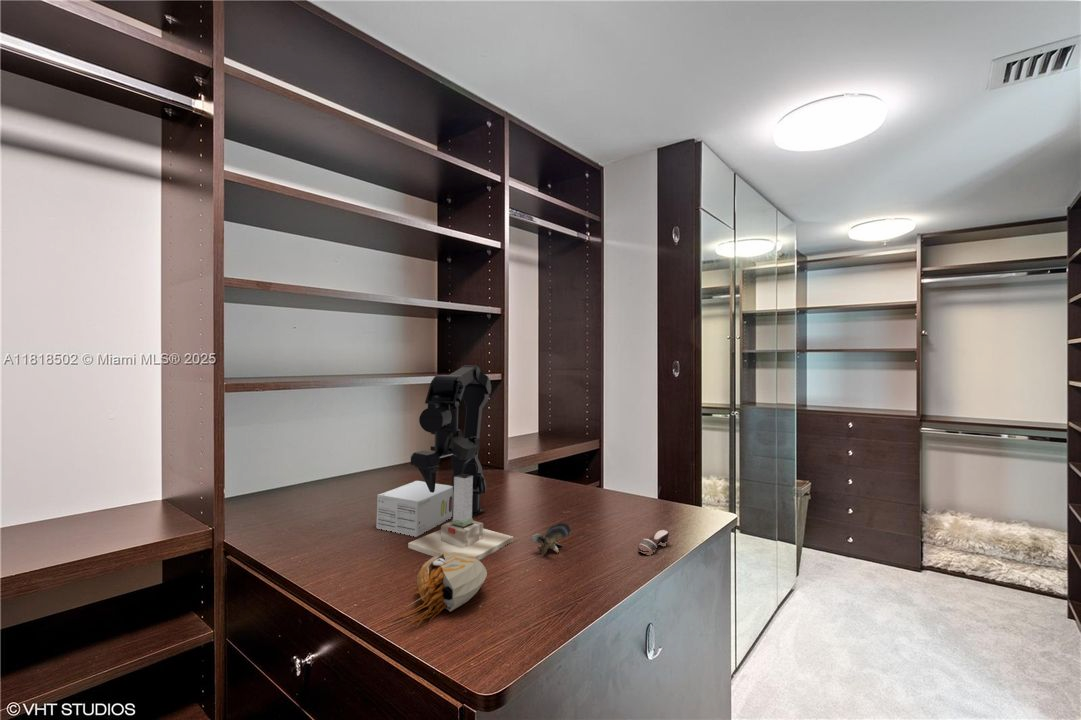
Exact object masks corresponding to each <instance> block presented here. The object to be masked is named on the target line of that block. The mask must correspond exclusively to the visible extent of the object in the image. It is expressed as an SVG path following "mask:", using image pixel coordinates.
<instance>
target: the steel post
mask: <svg viewBox="0 0 1081 720" xmlns="http://www.w3.org/2000/svg"><path fill="white" fill-rule="evenodd" d="M472 494H473V476H471V475H466V474H461V475H457V476H454V493H453V509H452V518H451V521H452V524H454V525H457V526H461V527H464V526H467V525H469V524H471V523H473V521H474V518H473V516H472Z"/></svg>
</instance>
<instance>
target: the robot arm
mask: <svg viewBox="0 0 1081 720" xmlns="http://www.w3.org/2000/svg"><path fill="white" fill-rule="evenodd" d="M491 393H492V384H491V380H490V378H489V376H488V375H487V374H485V373H484V372H482V371H481V369H480V367H479V366H477V365H467V364H466V365H465V364H464V365H462V366H460V368H458V369H457V370H455V371H453V372H452V373H450V374H438V375H435V376H434V377H433V379H432V380H431V381H430V385H429V387H428V391H427V395H426V398H425V401H424V404H426V405H427V408H426V409H424V410H423V411H422V412H421V413H420V416H419V418H418V421H419V422H418V423H419V425H420V427H421V429H423V431H425V432H427V433H430V434H431V435H434V438H433V439H434V441H433V442H434V443H433V445H431V446H430V451H429V450H420V451H416V452H413V453H412V454H411V455H410V465H411V466H414V468H417V469H418V471H419V473H420V474H421V476H422V478H423V481H424V482H426V484H427V487H428V489H429V491H430V492H432V493H433V492H434V491H435V483H436V480H437V471H438V470H439V469H440V468H441V465H439V464H440V462H441V460H442V459H445V458H449V457H450V462H451V467H452V468H451V469H452V475H451V486H453V494H454V476H457V475H461V474H466V475H471V476H473V494H472V517H475V516H477V515H479V514H482V513H483V512H485V509H483V508H481V496H482V495H483V494H486V493H487V481H486V479H485V477H484V473H483V467H482V464H481V462H480V460H479V451H480V446H481V443H480V442H481V441H480V436H481V435H480V434H481V428H482V427H481V424H482V417H483V416H482V415H483V408H485V407H486V404H487V403H488V401H489V400H490V395H491ZM462 400H463V402H464V404H465V406H466V411H465V422H464V431H462V429H459V406H460V402H462Z"/></svg>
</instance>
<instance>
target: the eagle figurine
mask: <svg viewBox="0 0 1081 720" xmlns="http://www.w3.org/2000/svg"><path fill="white" fill-rule="evenodd" d="M571 531H572V529H571V527H570V526H569V525H568V524H567V523H563V522H559V523H557V524H554V525H552V526H551V527H549V528H548V529H547V531H546V532H545V535H544V536H543V534H541V533H536V534H534V535H532V536H531V540H532V542H533V543H535V544H537V543H538V544H539V543H540V544H541V546H537V549H540V550H541V555H540V557H541V556H543V555H546V554H547V551H548V549H550V550H553V551H555V553H557V554H558V552H559V548H558V546H561V547H562V546H563V545H562V544H560V543H558V542H557V541H558V540H561V539H564V538H566V537H568V536H570V533H571ZM557 545H558V546H557ZM559 553H560V552H559ZM543 557H544V556H543Z"/></svg>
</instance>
